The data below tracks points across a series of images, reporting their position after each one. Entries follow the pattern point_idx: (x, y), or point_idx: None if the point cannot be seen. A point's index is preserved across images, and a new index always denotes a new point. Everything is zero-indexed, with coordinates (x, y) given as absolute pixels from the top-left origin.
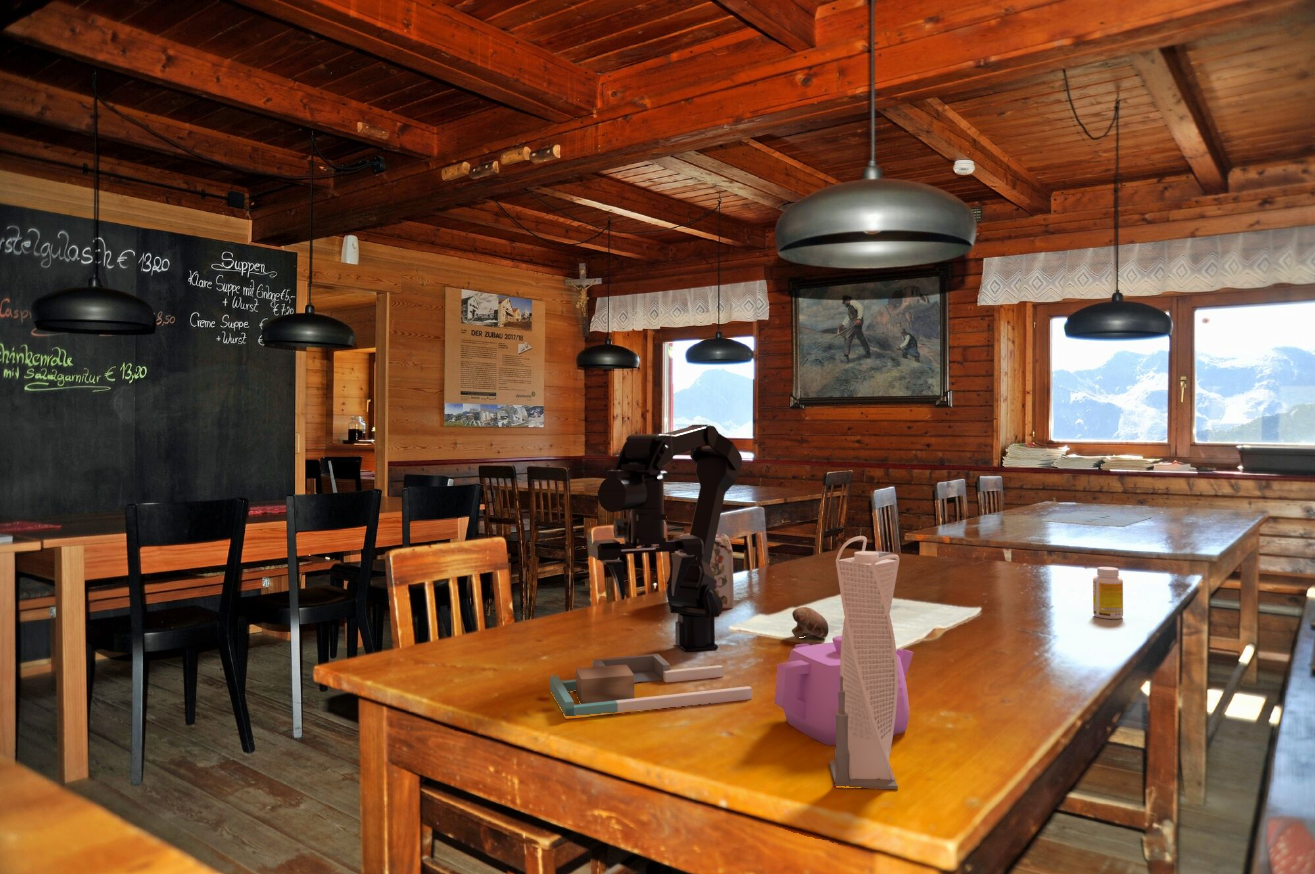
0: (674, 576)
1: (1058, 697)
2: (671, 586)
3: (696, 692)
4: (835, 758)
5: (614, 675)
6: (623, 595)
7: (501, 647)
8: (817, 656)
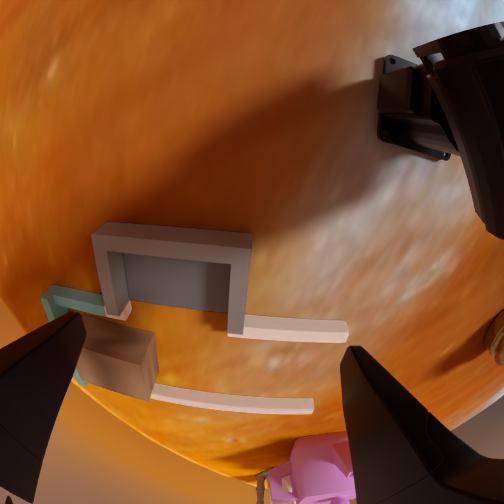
0: (371, 446)
1: (475, 410)
2: (479, 87)
3: (237, 407)
4: (257, 486)
5: (121, 390)
6: (76, 352)
7: (27, 3)
8: (308, 501)
